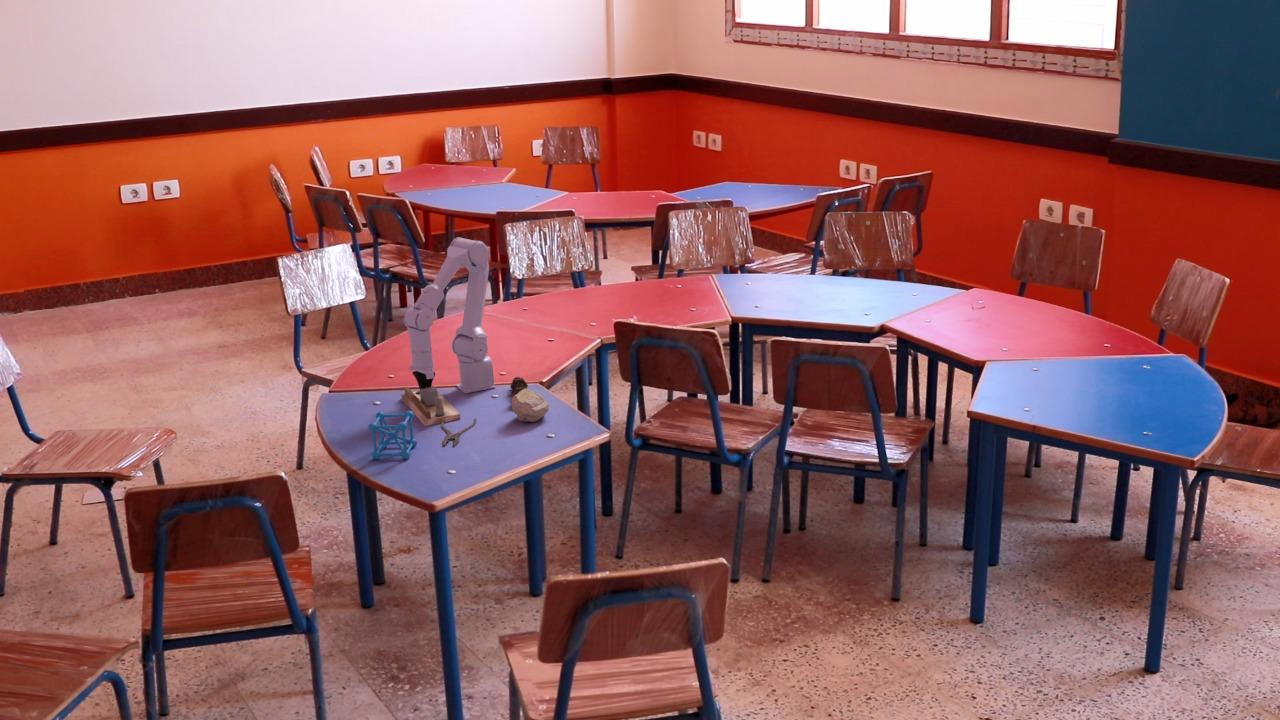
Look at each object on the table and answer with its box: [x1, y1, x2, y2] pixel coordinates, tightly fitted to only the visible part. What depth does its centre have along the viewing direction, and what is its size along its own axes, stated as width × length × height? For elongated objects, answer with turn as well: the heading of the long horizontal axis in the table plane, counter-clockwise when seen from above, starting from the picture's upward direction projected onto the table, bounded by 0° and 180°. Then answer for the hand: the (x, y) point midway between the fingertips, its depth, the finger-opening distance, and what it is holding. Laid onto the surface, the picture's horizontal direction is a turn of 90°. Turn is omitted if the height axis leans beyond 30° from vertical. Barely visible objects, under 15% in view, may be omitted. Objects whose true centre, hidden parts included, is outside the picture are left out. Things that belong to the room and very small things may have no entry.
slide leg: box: [419, 385, 439, 406], centre depth 344 cm, size 4×4×4 cm
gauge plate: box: [400, 386, 461, 427], centre depth 344 cm, size 10×24×6 cm, turn 25°
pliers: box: [440, 417, 477, 448], centre depth 328 cm, size 10×1×20 cm
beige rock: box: [511, 388, 550, 423], centre depth 334 cm, size 12×8×10 cm
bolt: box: [510, 376, 528, 399], centre depth 351 cm, size 6×5×15 cm
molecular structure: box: [367, 410, 418, 461], centre depth 315 cm, size 10×10×10 cm
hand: (426, 395), depth 347 cm, fingers closed
